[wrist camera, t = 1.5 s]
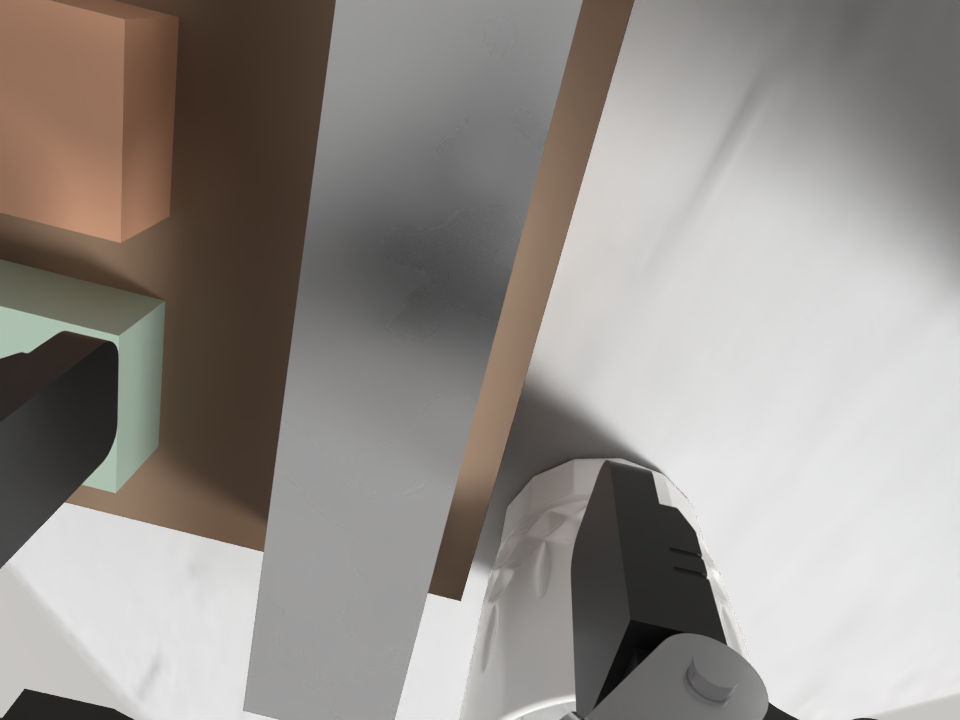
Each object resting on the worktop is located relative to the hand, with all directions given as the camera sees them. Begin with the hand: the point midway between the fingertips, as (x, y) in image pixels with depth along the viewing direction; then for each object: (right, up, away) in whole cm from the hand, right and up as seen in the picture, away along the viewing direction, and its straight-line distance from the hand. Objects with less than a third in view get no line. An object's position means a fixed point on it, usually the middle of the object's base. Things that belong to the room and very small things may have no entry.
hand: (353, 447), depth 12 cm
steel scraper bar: (+1, +2, +4) cm, 5 cm away
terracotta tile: (-6, +7, +3) cm, 10 cm away
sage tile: (-7, +1, +6) cm, 9 cm away
